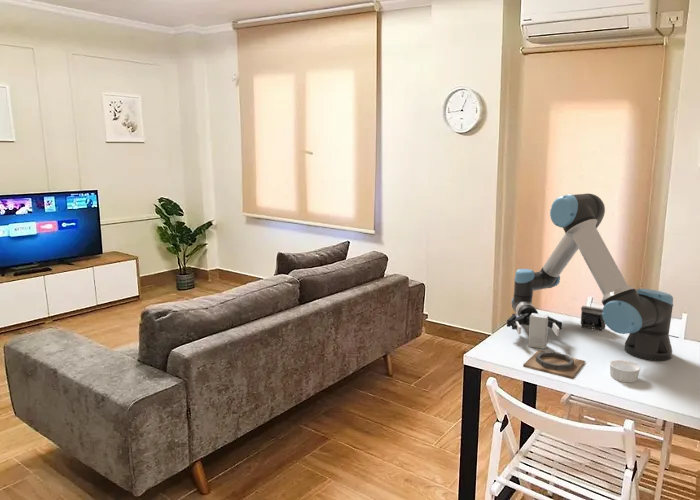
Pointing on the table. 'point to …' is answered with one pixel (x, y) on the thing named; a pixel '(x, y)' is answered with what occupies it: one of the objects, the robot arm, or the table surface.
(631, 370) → the ramekin
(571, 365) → the wooden board with ring
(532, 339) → the skincare box
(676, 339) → the table surface
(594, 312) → the electrical switch
